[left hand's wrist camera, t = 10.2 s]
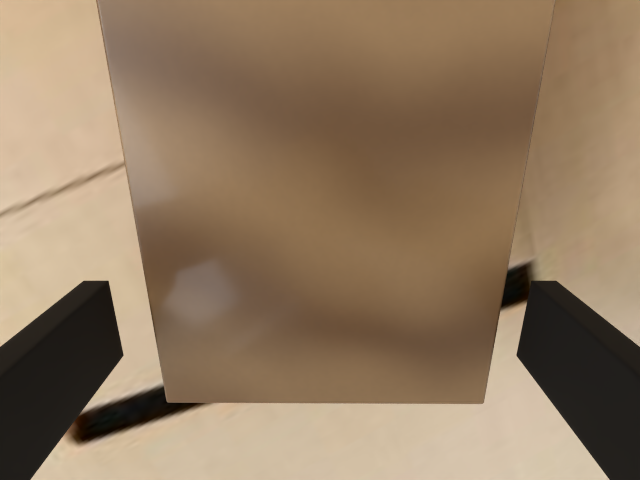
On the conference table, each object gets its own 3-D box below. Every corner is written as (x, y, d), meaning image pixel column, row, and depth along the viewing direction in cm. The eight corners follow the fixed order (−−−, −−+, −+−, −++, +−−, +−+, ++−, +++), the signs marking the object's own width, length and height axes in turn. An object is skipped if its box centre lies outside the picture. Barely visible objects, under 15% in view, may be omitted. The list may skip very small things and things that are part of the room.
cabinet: (198, -160, 16) (-6, -563, 6) (451, -162, 16) (661, -576, 6) (235, 265, 23) (165, 403, 13) (413, 266, 23) (484, 405, 13)
